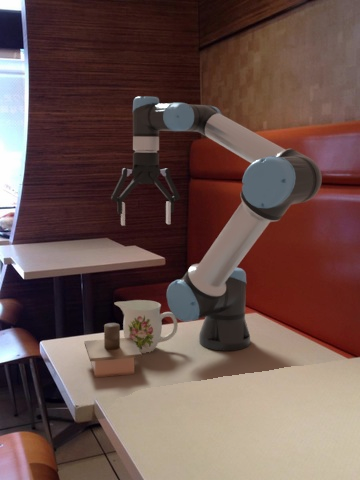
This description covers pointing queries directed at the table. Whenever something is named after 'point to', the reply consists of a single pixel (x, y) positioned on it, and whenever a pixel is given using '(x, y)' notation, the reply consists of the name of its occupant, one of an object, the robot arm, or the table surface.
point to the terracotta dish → (113, 367)
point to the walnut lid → (112, 345)
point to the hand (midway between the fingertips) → (145, 224)
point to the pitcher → (145, 323)
